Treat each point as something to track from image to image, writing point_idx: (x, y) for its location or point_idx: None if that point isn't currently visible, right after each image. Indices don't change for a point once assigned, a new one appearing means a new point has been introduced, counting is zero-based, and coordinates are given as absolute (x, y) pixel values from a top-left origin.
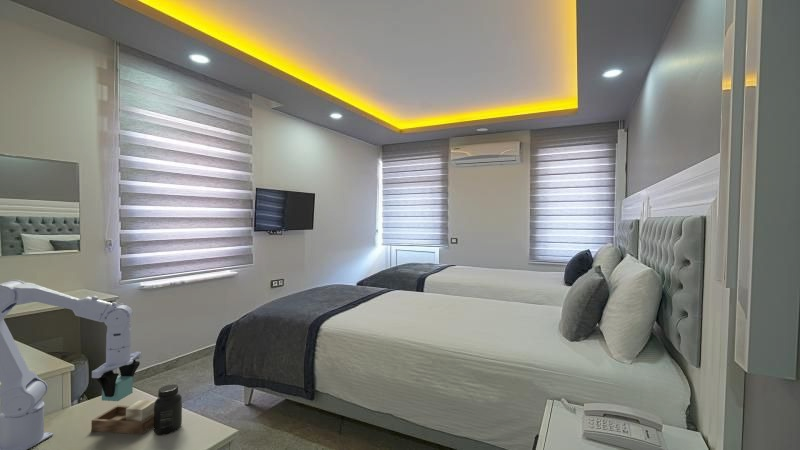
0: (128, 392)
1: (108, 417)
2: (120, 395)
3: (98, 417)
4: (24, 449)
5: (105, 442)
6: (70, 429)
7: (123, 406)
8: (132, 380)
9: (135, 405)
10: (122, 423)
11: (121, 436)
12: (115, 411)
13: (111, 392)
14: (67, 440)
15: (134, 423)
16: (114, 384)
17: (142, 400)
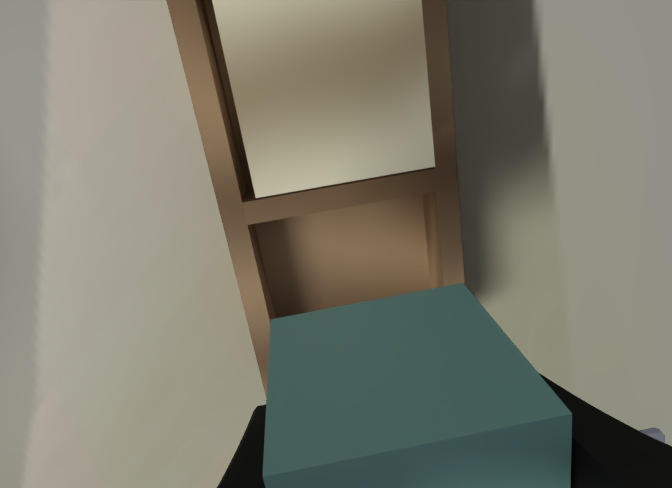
0: (329, 324)
1: None
2: (445, 312)
3: None
4: (648, 435)
5: (536, 118)
6: None
7: (266, 349)
8: (267, 425)
9: (360, 134)
10: (451, 124)
11: (464, 79)
12: None
13: (553, 385)
14: (543, 348)
15: (444, 6)
16: (603, 444)
17: (258, 162)
